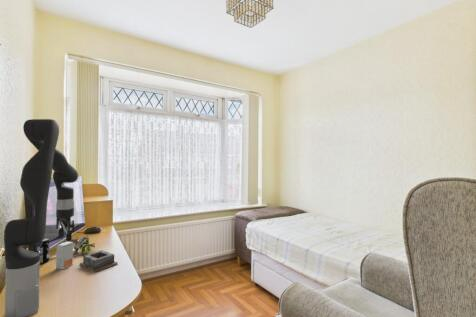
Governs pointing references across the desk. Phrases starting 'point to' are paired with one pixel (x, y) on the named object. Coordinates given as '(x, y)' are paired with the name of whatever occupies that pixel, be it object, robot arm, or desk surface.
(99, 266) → the keyed holder
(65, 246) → the skincare box
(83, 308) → the desk surface
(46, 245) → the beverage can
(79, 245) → the passion flower
